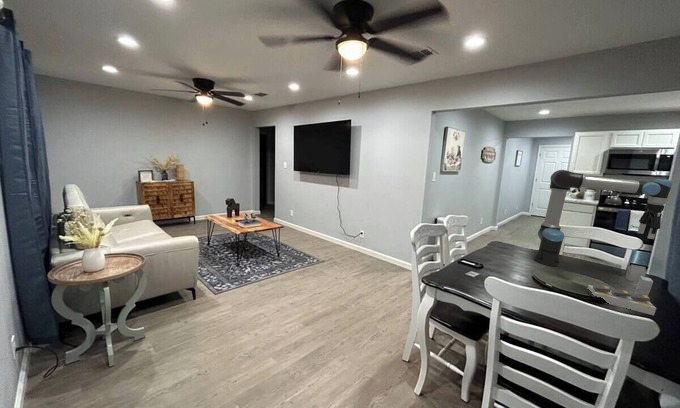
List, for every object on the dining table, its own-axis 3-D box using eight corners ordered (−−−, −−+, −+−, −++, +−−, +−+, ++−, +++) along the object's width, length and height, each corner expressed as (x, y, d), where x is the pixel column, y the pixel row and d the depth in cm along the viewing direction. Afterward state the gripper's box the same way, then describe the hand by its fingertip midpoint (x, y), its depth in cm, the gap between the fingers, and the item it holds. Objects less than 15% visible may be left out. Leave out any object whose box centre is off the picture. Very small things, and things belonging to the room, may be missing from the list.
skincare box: (632, 294, 153) (639, 275, 151) (644, 298, 150) (651, 278, 148) (634, 299, 149) (641, 278, 146) (646, 302, 146) (653, 282, 143)
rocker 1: (595, 290, 146) (595, 287, 145) (592, 287, 149) (593, 284, 149) (610, 292, 143) (610, 289, 143) (607, 289, 146) (607, 286, 146)
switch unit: (592, 299, 144) (595, 292, 143) (586, 291, 153) (588, 284, 153) (653, 315, 133) (656, 307, 132) (643, 305, 143) (645, 297, 142)
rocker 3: (633, 299, 139) (633, 296, 139) (630, 296, 142) (630, 293, 142) (650, 301, 136) (650, 298, 136) (646, 298, 139) (646, 295, 139)
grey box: (642, 282, 170) (647, 268, 168) (628, 280, 173) (632, 265, 171) (638, 280, 174) (643, 266, 172) (624, 277, 176) (629, 263, 174)
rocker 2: (613, 294, 142) (614, 292, 142) (611, 291, 146) (611, 288, 145) (629, 296, 139) (630, 293, 139) (626, 293, 143) (626, 290, 142)
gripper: (676, 208, 158) (664, 242, 163) (653, 202, 180) (643, 232, 184) (658, 206, 162) (646, 239, 166) (638, 200, 183) (628, 230, 188)
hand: (645, 235), depth 175 cm, fingers open, 13 cm apart
